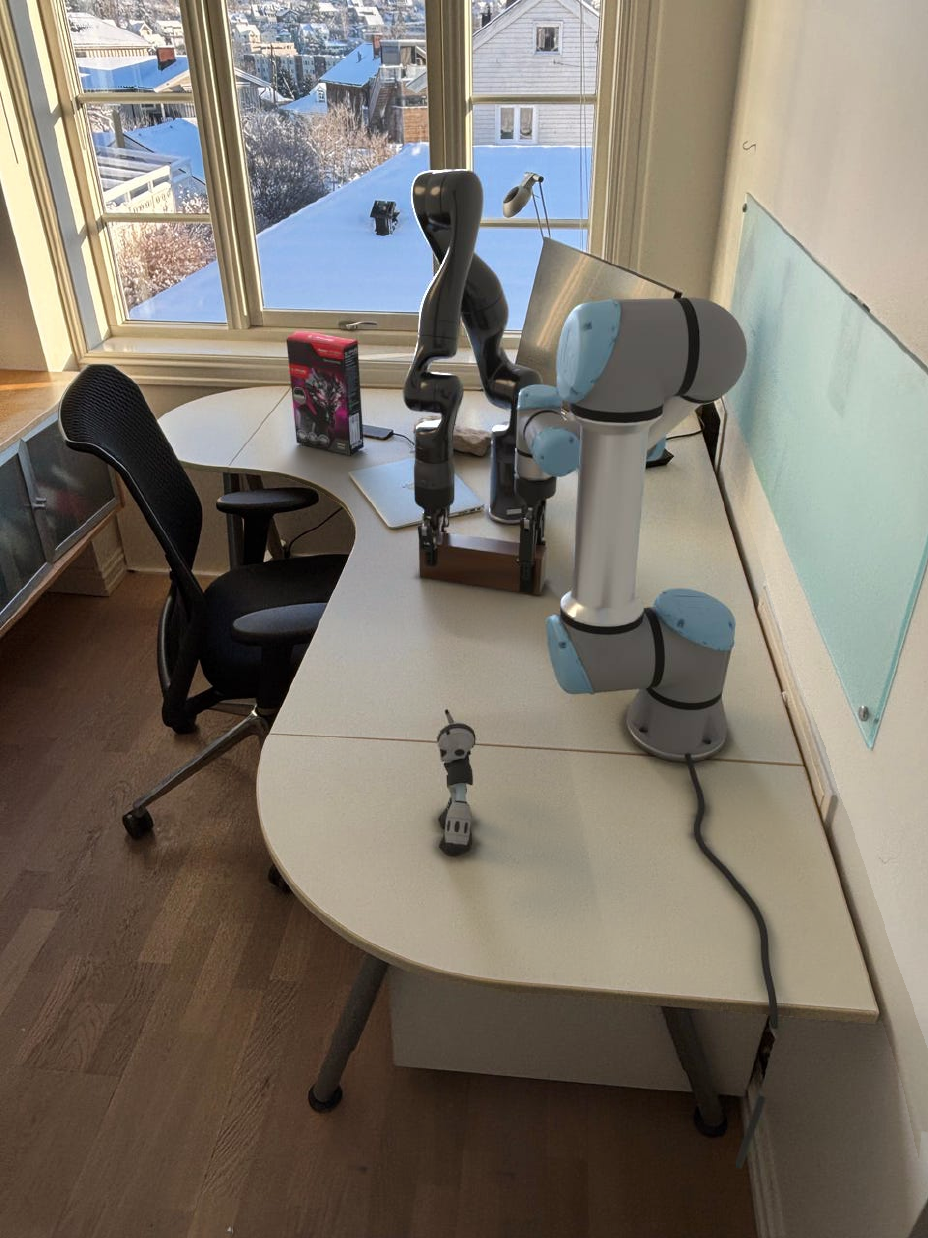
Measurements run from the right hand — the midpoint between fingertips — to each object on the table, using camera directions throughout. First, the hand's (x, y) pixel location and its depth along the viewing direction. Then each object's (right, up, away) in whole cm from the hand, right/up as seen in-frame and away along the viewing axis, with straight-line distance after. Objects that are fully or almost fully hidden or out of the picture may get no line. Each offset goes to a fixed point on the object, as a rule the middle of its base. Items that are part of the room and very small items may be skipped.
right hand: (529, 583), depth 177 cm
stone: (-16, +37, +57) cm, 70 cm away
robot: (-14, -36, -52) cm, 65 cm away
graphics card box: (-47, +37, +56) cm, 81 cm away
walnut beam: (-9, +1, +2) cm, 10 cm away
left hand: (-18, +5, +3) cm, 19 cm away
